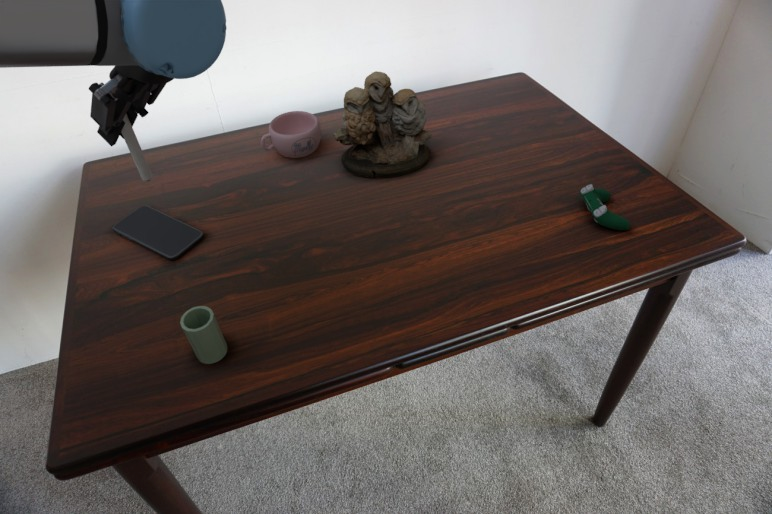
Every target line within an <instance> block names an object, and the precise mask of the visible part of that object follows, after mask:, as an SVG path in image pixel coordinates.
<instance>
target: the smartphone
mask: <svg viewBox="0 0 772 514" xmlns="http://www.w3.org/2000/svg"><path fill="white" fill-rule="evenodd" d="M112 230H113V232H114V233H116V234H117V235H118V236H122V237H123V238H125V239H128V240H129V241H131V242H133V243H135V244H138V245H140V246H142V247H144V248H146V249H147V250H149V251H150V252H151V251H152V252H153V253H155V254H157V255H159V256H161V257H163V258H165V259H167V260H169V261H175V260H178V259H179V258H180V257H181V256H182V255H184V254H185V253H187V252H188V251H189V250H190V249H191V248H193V247H194V246H195V245H197V244H198V243H199V242H200V241H202V240H203V238H204V236H205V233H204V232H203V231H202V230H201V229H198V228H197V227H194V226H192V225H190V224H187V223H186V222H184V221H181V220H179V219H177V218H175V217H173V216H170V215H169V214H166V213H165V212H162V211H160V210H158V209H156V208H153V207H152V206H149V205H146V204H144V205H141V206H139V207H137V208H136V209H135V210H133V211H132V212H130V213H129V214H127V215H126V216H124V217H123V218H121V219H120V220H118V221H117V222H116V223H114V225H113V226H112Z"/></svg>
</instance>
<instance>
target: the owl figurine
mask: <svg viewBox="0 0 772 514" xmlns="http://www.w3.org/2000/svg"><path fill="white" fill-rule="evenodd" d="M363 86H364V88H362V87H358V86H354V87H353V88H351V89H350V88H349V90H347V91H345V94H344V97H343V107H344V108H343V111H344V112H343V113H342V114H341V118H342V119H343V124H342V126H343V127H341V128H339V129H336V132H333V133H332V135H333V137H334V140H335V141H336V142H339V143H340V144H342V145H344V146H350V147H348V148H346V149H345V150H344V152H343V153H342V155H341V158H340V161H341V164H342V166H343V168H344V169H345V170H346V171H347V172H348V173H350V174H351V175H354V176H356V177H362V178H373V177H375V178H377V179H385V178H394V177H400V176H404V175H407V174H411V173H413V172H415V171H418V170H419V169H421V168H423V167H424V166H425V164H426V163H428V162H429V161H430V159H431V158H430V157H431V151H430V148H429V147H428V146H427V145H426V144H425V142H426V141H428V140H430V139H432V136H433V133H432V131H429V130H425V126H426V123H427V116H426V114H427V113H426V109H425V107H426V106H425V102H423V101H422V100H421V99H420V98H418V96H417V94H416V92H415V91H414V90H413V89H411V88H402V89H399V90H397V92H395V93H394V89H393V88H392V81H391V77H390V76H389V75H388V74H387V73H386V72H382V71H373V72H371V73H370V74H369V75H367V76H366V77H365V79H364V83H363ZM373 172H374V173H375V174H374V173H373Z"/></svg>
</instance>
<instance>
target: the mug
mask: <svg viewBox="0 0 772 514" xmlns="http://www.w3.org/2000/svg"><path fill="white" fill-rule="evenodd" d="M268 138H269V140H270V142H271V144H270V145H269V146H268V145H266V143H265V141H266V140H267V139H268ZM321 138H322V126H321V123H320V120H319V119H318V117H317V116H316V115H314V114H313V113H311V112H308V111H303V110H293V111H287V112H284V113H281V114H278V115H277V116H275V117H274V118H272V120H271V121H270V123H269V124H268V133H265V134H263V135H262V137H261V139H260V146H261V148H262V149H263V150H264V151H271V150H273V149H275V150H276V151H277V152H278V153H279V154H280V155H281V156H283V157H286V158H290V159H299V158H303V157H307V156H309V155H312V153H314V152H315V151H316V150H317V149H318V147H319V146H320V142H321Z"/></svg>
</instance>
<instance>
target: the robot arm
mask: <svg viewBox="0 0 772 514" xmlns="http://www.w3.org/2000/svg"><path fill="white" fill-rule="evenodd" d="M225 11H226V10H225V7H224V5H223V2H222V0H0V69H2V68H3V69H4V68H6V69H7V68H45V67H47V68H48V67H50V68H51V67H89V66H92V67H93V66H95V67H96V66H97V67H98V66H99V67H113V68H112V69H111V70H110V72H109V76H108V77H109V80H108V81H107V82H105V83H104V82H100V83H98V82H93V83H92V84H90V85H89V86H88V90H89V91H90V92H91V93H92V94H91V104H90V105H91V106H90V113H89V114H90V119H92V120H93V121H94V123H96V124H97V125H98V128H97V131H96V132H97V134H98V135H99V136H100V137H101V138H102V139H103V140H104V141H105V142H106V143H107V144H108V145H109V146H110V147H111V148H112V147H113V146H115V145H116V144H117V142H118V140H119V138H120V137H121V138H122V139H123V140H125V139H124V137H123V135H122V133H121V131H122V129H123V127H124V125H125V122H124V121H123V118H124V117H125V115H126V114H127V116H128V118H129V121H130V123H131V126H132V128H133V126H134V124H135V122H136V120H137V118H138V116H140V117H141V118H144V117H145V118H146V116H147V115H149V111H148V110H147V109H146V106H147V105H148V106H150V105H153V104H154V103H155V102H156V101H157V99H158V97H159V95H160V94H161V93H162V91H163V90H164V88H165V87H166V85H167V83H171V81H173V80H175V79H176V80H185V79H191V78H195V77H197V76H199V75H201V74H202V73H204V72H206V71H207V70H208V69H210V68H212V66H213V64H214V63H215V62H216V61H217V60H218V58H219V56H220V55H221V53H222V51H223V48H224V45H225V41H226V37H227V16H226V12H225Z"/></svg>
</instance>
